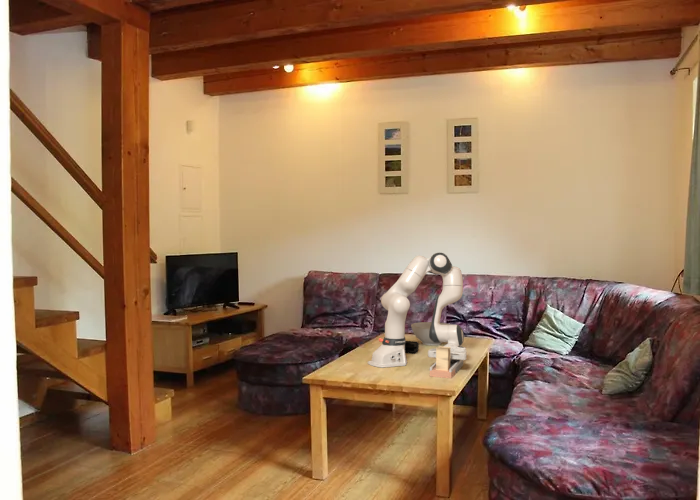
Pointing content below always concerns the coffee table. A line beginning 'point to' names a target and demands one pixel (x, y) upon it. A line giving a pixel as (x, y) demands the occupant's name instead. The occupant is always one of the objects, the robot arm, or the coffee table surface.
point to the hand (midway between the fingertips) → (444, 357)
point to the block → (443, 358)
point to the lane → (454, 368)
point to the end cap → (411, 347)
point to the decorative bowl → (424, 332)
